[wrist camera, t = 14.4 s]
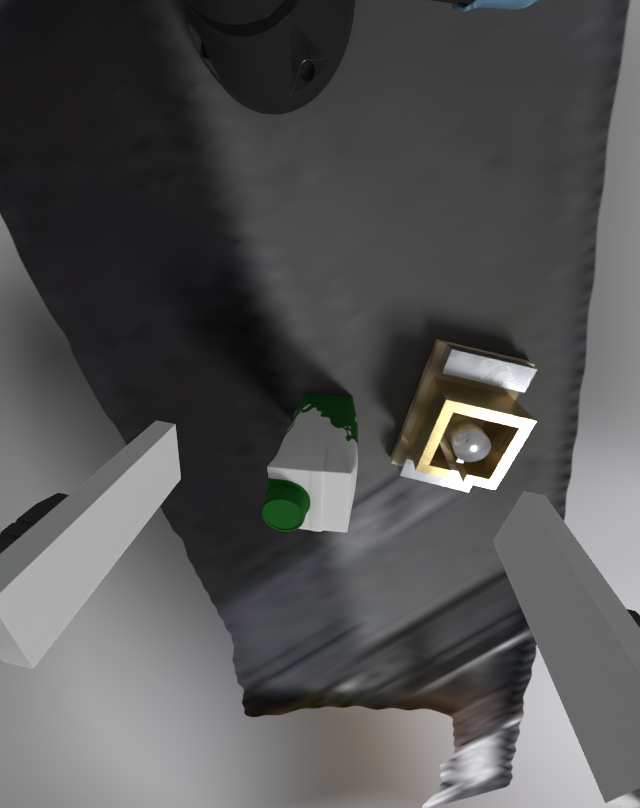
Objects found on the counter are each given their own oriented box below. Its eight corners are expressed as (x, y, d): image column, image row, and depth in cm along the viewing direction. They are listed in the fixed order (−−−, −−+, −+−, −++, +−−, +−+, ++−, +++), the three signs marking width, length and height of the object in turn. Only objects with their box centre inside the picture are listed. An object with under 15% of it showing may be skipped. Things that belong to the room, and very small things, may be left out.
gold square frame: (432, 377, 40) (446, 399, 34) (509, 394, 40) (536, 421, 33) (407, 440, 44) (415, 470, 38) (476, 456, 44) (495, 490, 38)
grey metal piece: (446, 343, 38) (463, 361, 32) (526, 362, 38) (559, 383, 31) (398, 464, 46) (403, 497, 40) (463, 480, 46) (479, 516, 40)
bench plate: (436, 338, 39) (438, 341, 38) (529, 360, 39) (535, 364, 38) (390, 457, 48) (391, 463, 46) (466, 476, 48) (469, 482, 46)
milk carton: (297, 387, 45) (253, 475, 27) (360, 390, 44) (359, 484, 26) (298, 438, 48) (261, 546, 30) (356, 443, 47) (353, 556, 29)
